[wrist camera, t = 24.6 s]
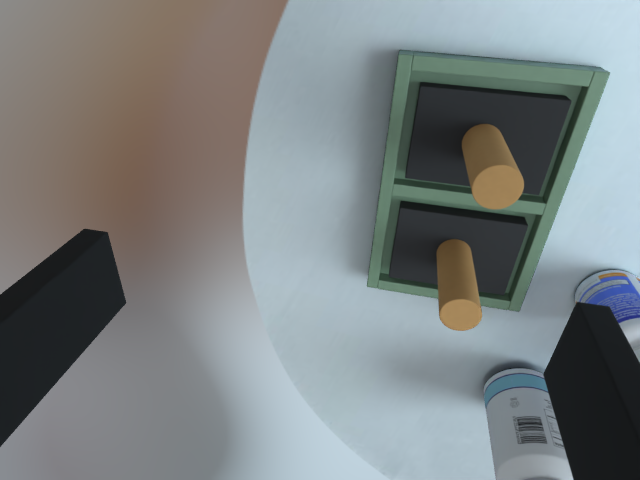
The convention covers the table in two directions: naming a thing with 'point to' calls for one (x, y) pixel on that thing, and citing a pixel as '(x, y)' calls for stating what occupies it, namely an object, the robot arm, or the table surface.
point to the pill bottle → (616, 300)
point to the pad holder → (537, 209)
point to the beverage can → (524, 428)
